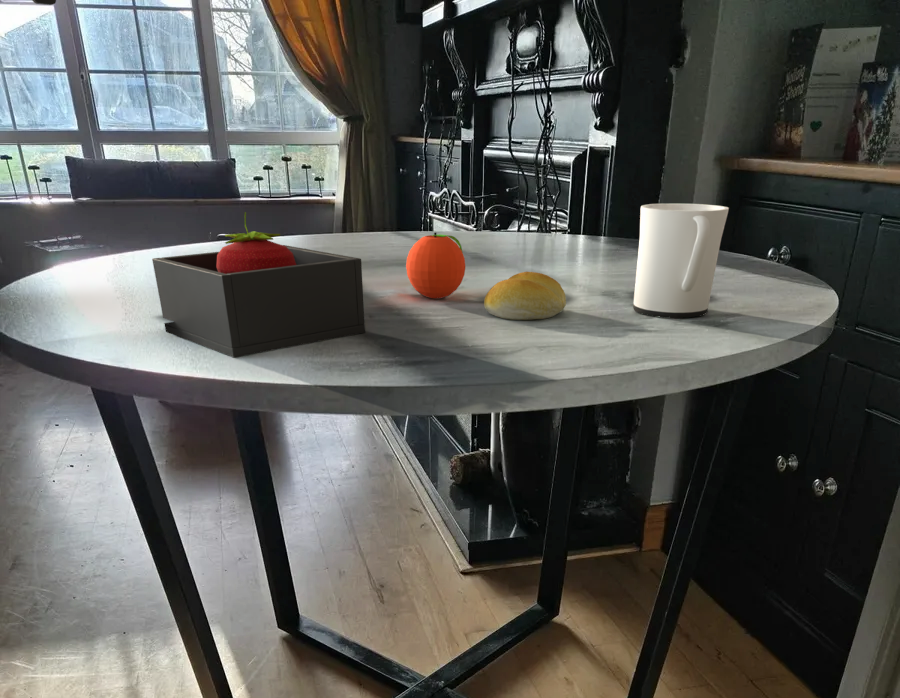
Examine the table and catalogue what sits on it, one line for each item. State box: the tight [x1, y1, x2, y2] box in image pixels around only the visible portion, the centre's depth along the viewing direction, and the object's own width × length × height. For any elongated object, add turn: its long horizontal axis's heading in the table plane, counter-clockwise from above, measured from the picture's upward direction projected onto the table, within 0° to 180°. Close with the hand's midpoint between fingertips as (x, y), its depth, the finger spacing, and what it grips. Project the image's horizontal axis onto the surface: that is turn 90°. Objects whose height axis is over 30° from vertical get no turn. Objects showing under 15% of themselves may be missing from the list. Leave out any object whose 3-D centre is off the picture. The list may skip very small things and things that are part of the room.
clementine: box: [405, 232, 466, 300], centre depth 91 cm, size 8×7×7 cm
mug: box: [632, 203, 730, 319], centre depth 83 cm, size 11×9×10 cm
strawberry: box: [216, 211, 296, 274], centre depth 74 cm, size 6×8×10 cm
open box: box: [151, 244, 366, 358], centre depth 75 cm, size 15×14×7 cm
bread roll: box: [483, 271, 567, 321], centre depth 84 cm, size 8×9×4 cm
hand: (60, 0), depth 76 cm, fingers open, 8 cm apart
